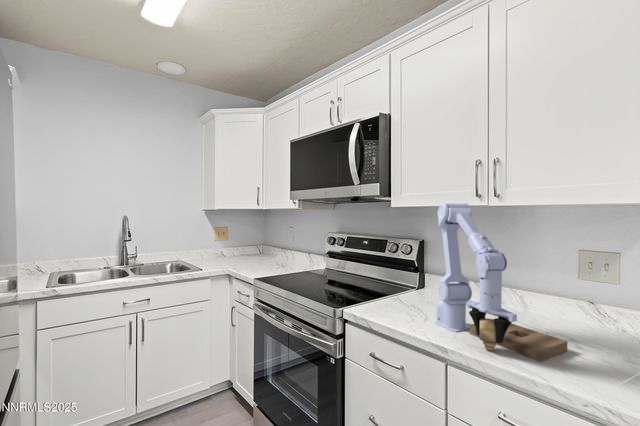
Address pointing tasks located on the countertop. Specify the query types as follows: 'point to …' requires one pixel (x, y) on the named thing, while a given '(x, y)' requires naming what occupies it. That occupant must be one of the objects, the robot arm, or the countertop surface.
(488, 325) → the oak peg
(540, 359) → the walnut board
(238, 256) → the countertop surface
